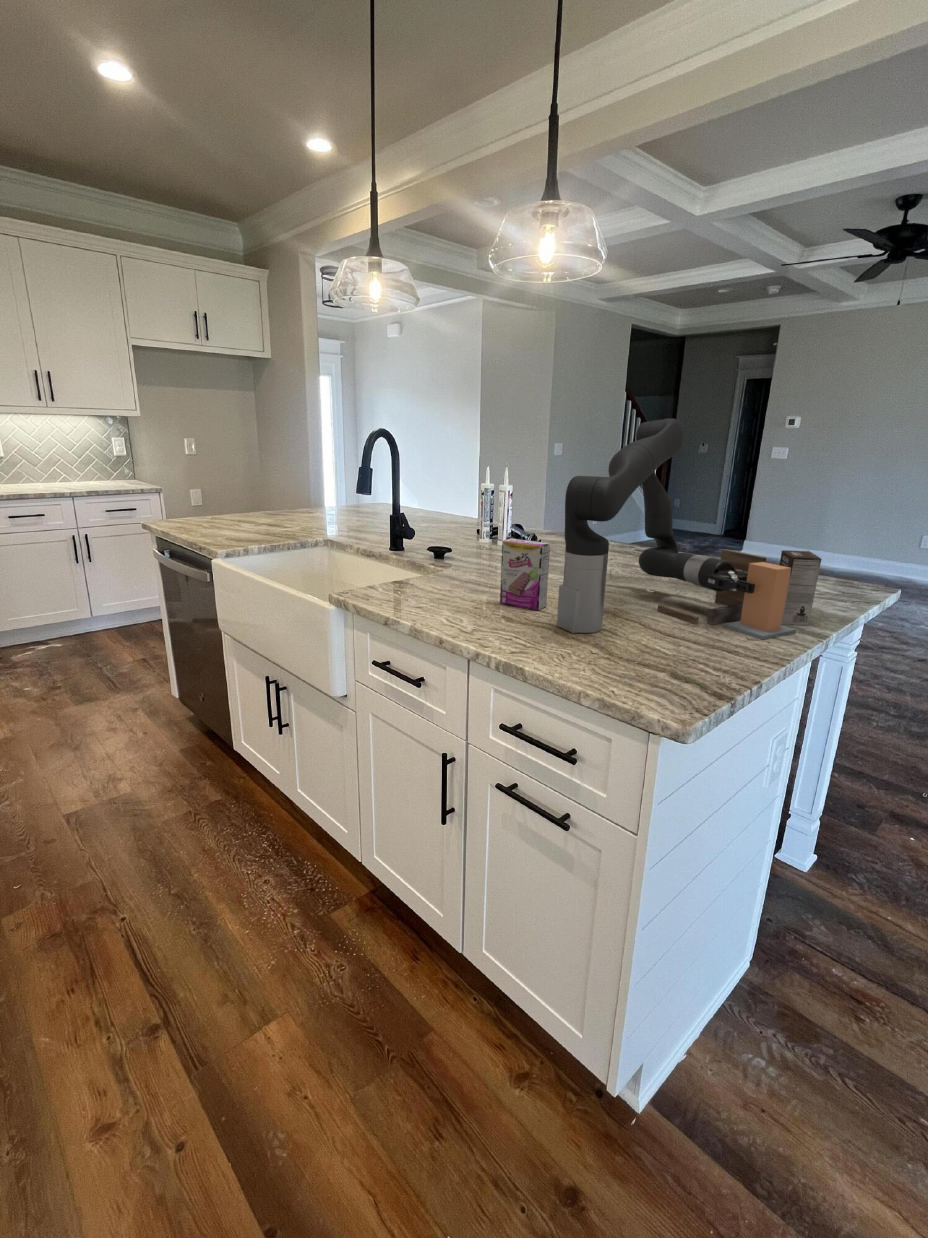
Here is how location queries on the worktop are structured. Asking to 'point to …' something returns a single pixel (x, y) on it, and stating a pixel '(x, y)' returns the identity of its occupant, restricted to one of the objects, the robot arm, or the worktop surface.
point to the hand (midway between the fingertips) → (766, 587)
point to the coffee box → (800, 585)
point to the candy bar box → (524, 573)
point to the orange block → (765, 596)
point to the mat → (759, 633)
